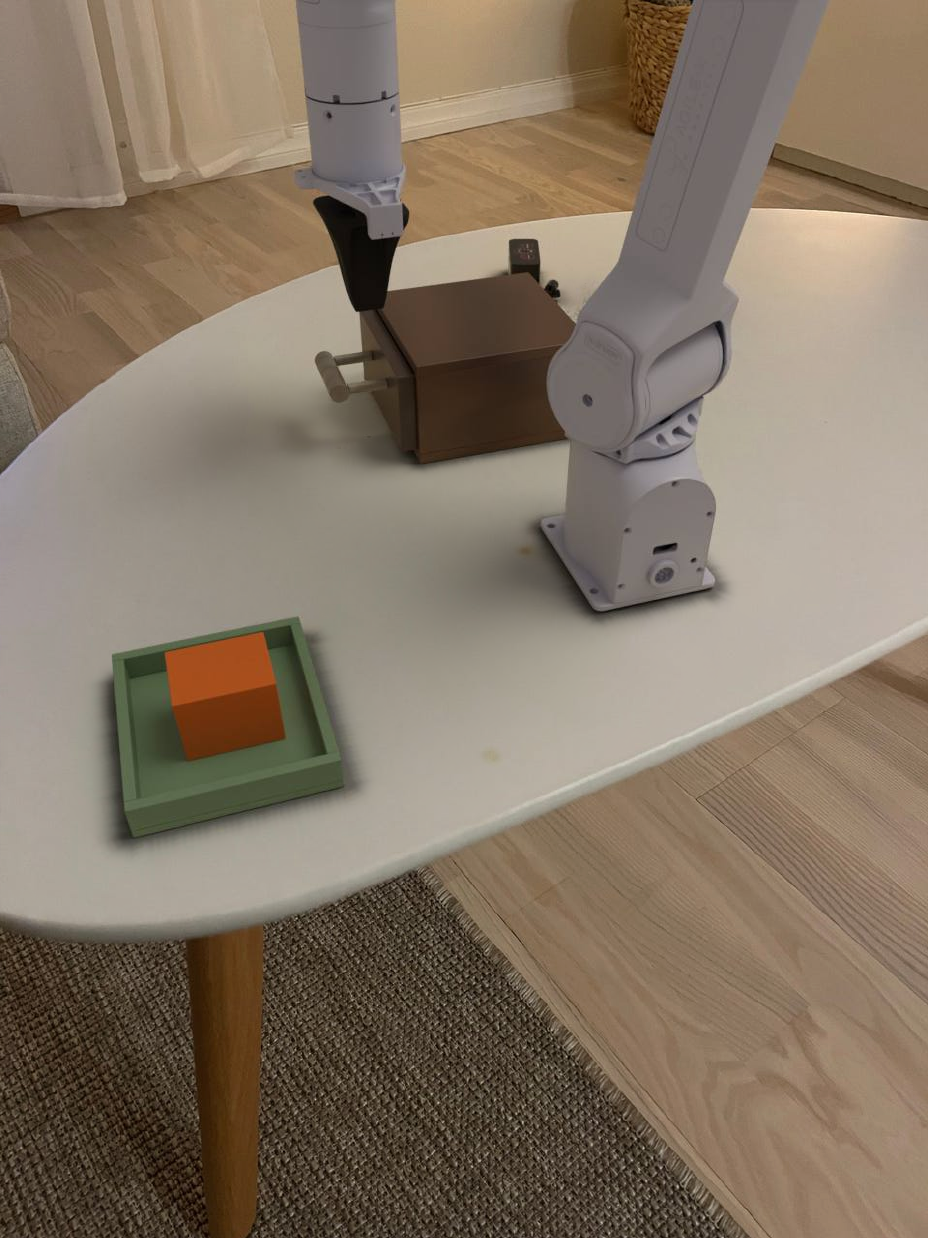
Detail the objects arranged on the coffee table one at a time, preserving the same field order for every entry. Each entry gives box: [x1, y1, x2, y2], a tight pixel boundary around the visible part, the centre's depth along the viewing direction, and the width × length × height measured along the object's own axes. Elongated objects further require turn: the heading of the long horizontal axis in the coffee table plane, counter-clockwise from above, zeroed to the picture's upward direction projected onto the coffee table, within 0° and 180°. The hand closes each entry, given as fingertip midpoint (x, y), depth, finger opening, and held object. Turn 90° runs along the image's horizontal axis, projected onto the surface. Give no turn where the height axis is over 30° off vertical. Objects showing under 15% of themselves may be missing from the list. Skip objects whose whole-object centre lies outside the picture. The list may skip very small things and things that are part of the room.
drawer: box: [314, 310, 418, 452], centre depth 75 cm, size 16×11×6 cm
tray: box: [111, 616, 346, 838], centre depth 52 cm, size 11×10×2 cm
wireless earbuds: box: [507, 238, 561, 299], centre depth 95 cm, size 5×7×3 cm, turn 179°
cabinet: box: [376, 272, 576, 465], centre depth 76 cm, size 13×13×8 cm
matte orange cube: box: [165, 632, 286, 761], centre depth 51 cm, size 4×5×4 cm
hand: (367, 306), depth 70 cm, fingers closed
